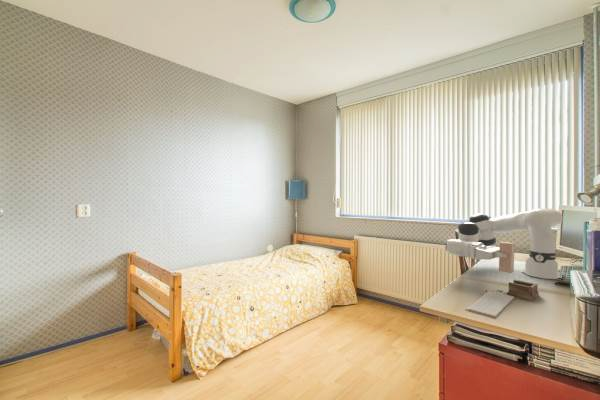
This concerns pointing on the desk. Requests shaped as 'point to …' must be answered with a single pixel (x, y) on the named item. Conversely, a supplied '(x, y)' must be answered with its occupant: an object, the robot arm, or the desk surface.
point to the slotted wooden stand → (523, 290)
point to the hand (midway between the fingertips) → (509, 255)
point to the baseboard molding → (490, 304)
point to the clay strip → (508, 262)
